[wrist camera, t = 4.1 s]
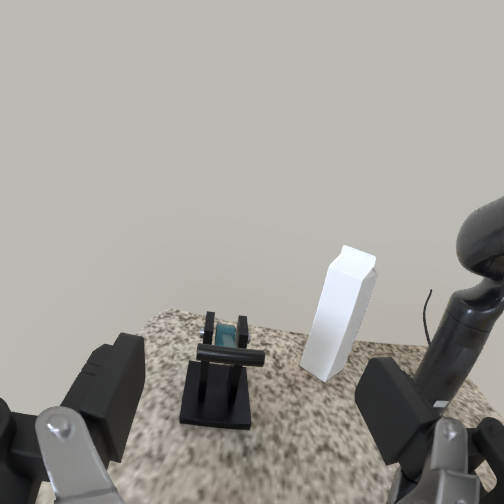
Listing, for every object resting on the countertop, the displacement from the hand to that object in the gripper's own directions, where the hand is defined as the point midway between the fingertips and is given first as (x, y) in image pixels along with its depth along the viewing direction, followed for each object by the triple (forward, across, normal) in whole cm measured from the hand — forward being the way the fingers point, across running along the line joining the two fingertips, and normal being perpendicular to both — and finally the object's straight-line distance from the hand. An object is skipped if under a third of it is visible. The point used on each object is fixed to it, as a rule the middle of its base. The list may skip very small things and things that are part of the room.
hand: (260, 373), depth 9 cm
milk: (+30, -18, +24) cm, 42 cm away
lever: (+16, 0, +12) cm, 20 cm away
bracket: (+22, 0, +24) cm, 32 cm away
